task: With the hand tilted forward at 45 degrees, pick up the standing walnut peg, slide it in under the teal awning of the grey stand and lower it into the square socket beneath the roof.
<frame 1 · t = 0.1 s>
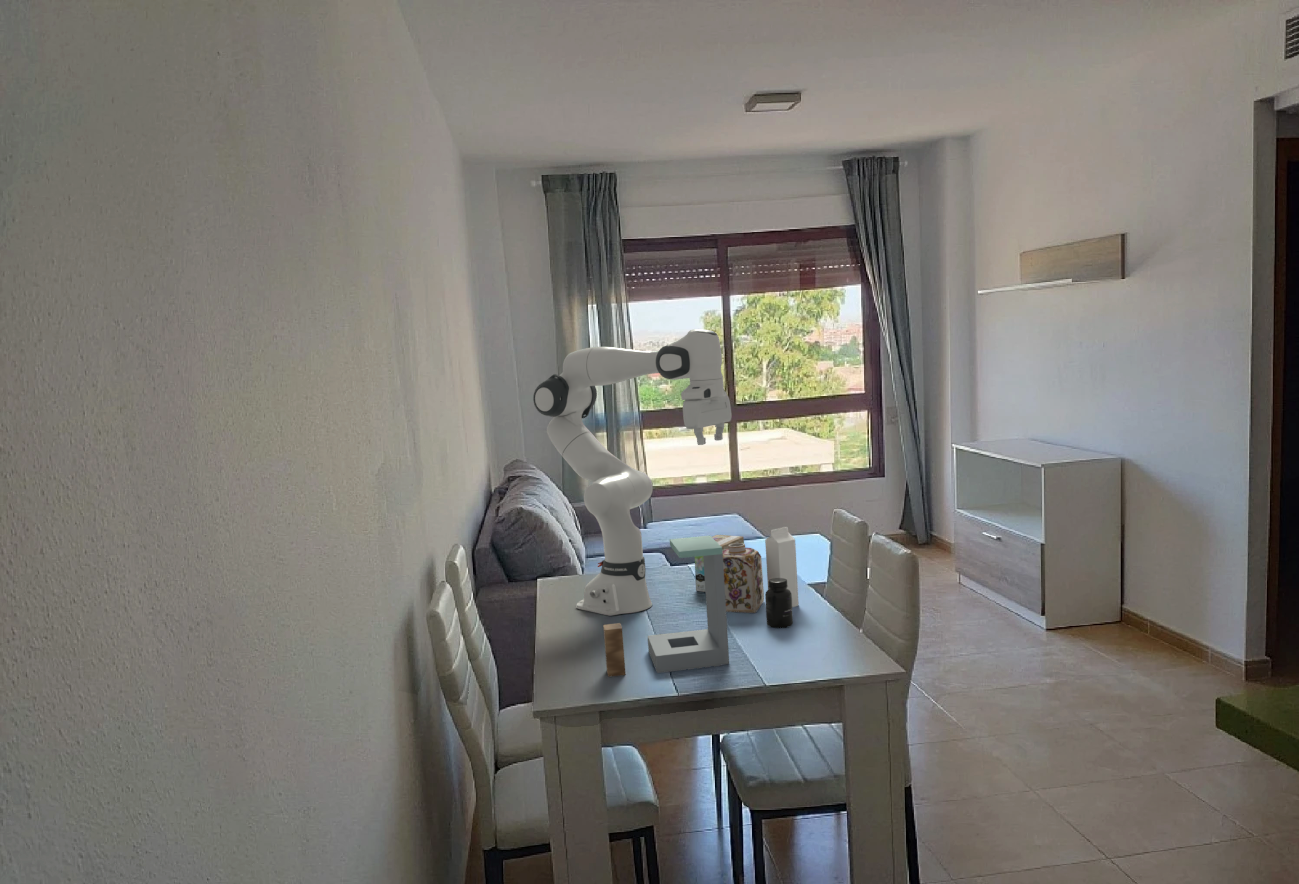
hand: (710, 442, 234), 48 cm above the table, tool pointing down, fingers open, 8 cm apart
decorative jar: (740, 607, 248), on the table
socket stand: (683, 658, 209), on the table
supplement bottle: (780, 625, 229), on the table
walnut peg: (616, 672, 203), on the table
tea box: (721, 587, 270), on the table
milk: (783, 606, 246), on the table
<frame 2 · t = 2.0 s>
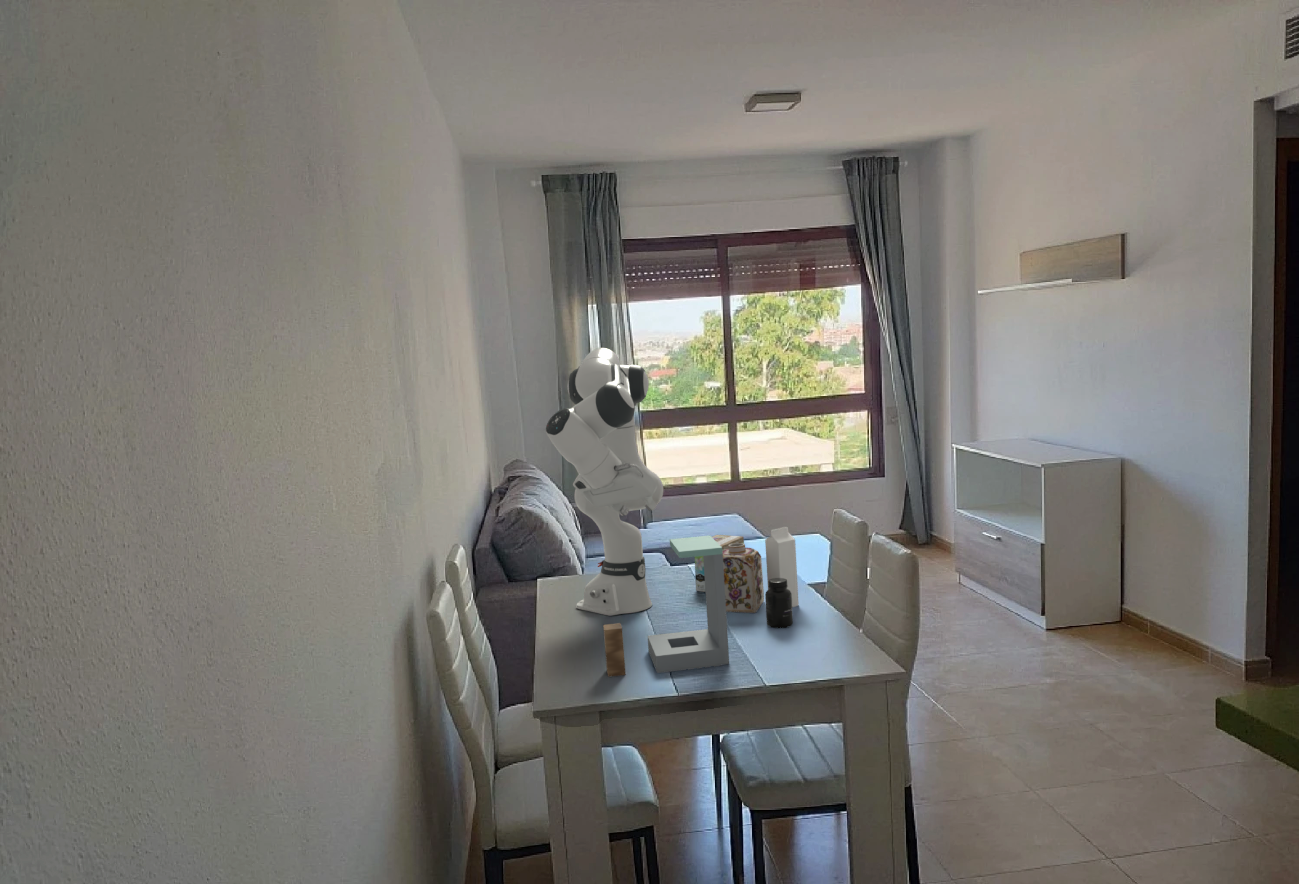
hand: (639, 511, 202), 37 cm above the table, tool tilted 40°, fingers open, 8 cm apart
nothing on the table moved.
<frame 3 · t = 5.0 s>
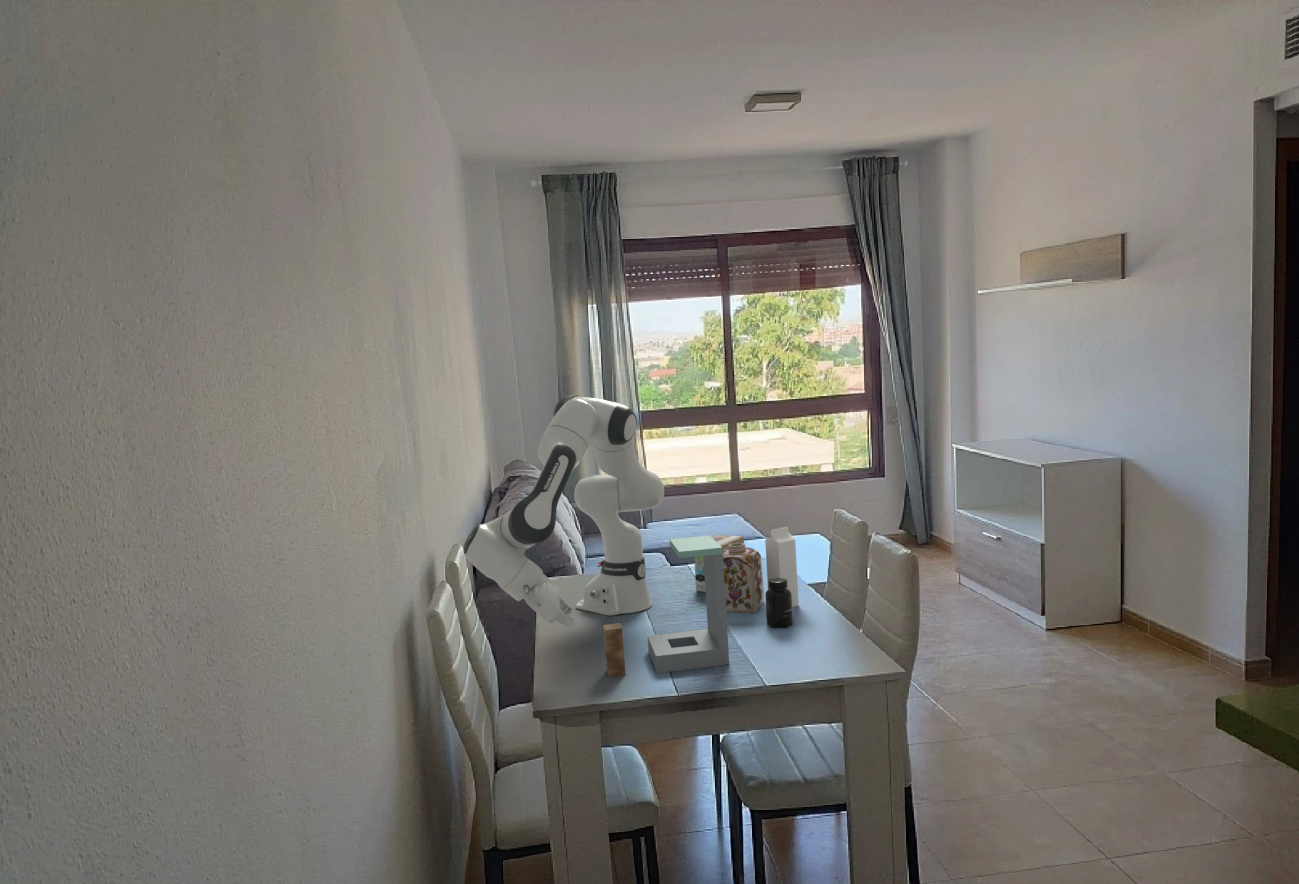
hand: (571, 618, 201), 14 cm above the table, tool tilted 45°, fingers open, 8 cm apart
nothing on the table moved.
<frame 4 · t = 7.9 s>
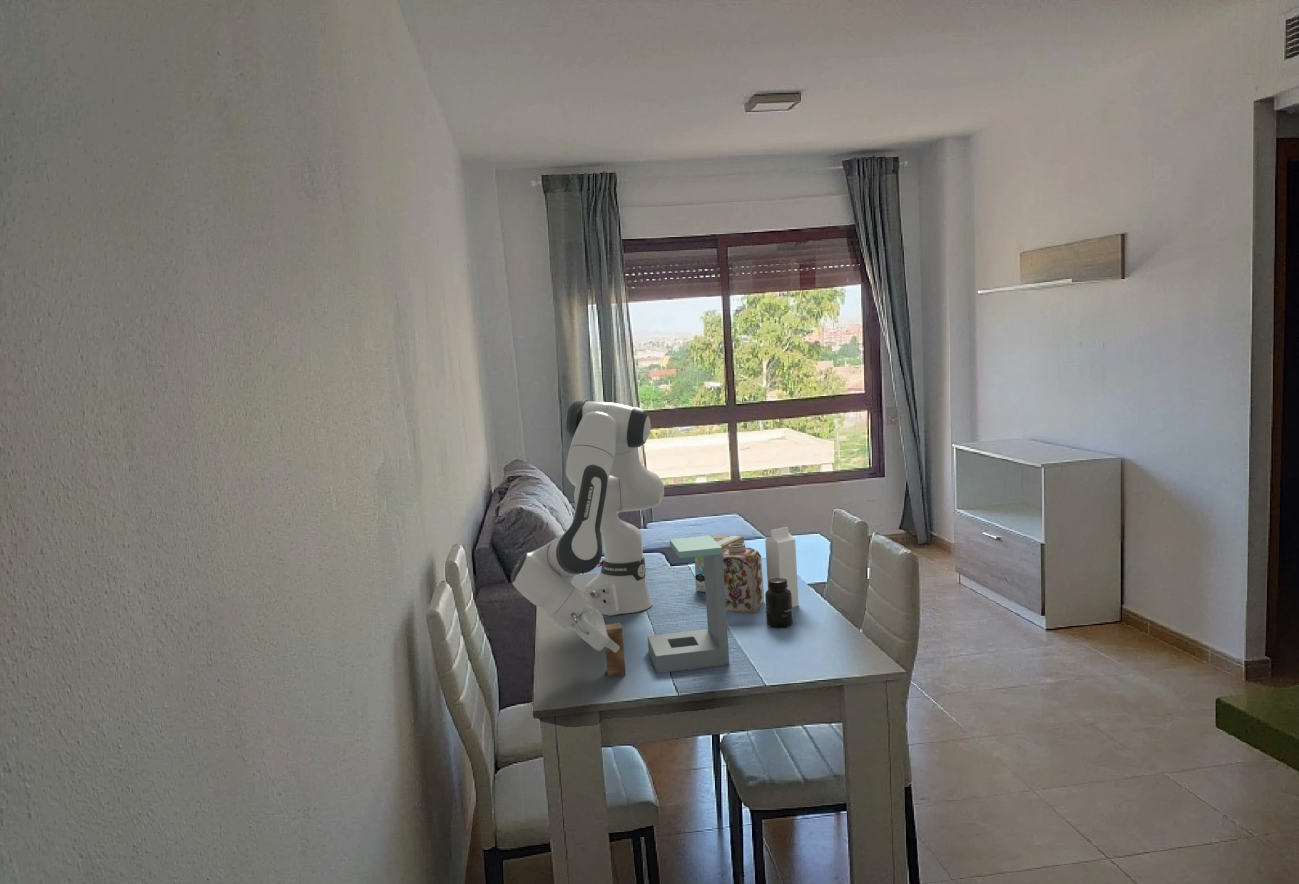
hand: (616, 645, 202), 6 cm above the table, tool tilted 45°, fingers closed on walnut peg, 4 cm apart
walnut peg: (616, 672, 203), on the table, touching gripper
everything else where it was.
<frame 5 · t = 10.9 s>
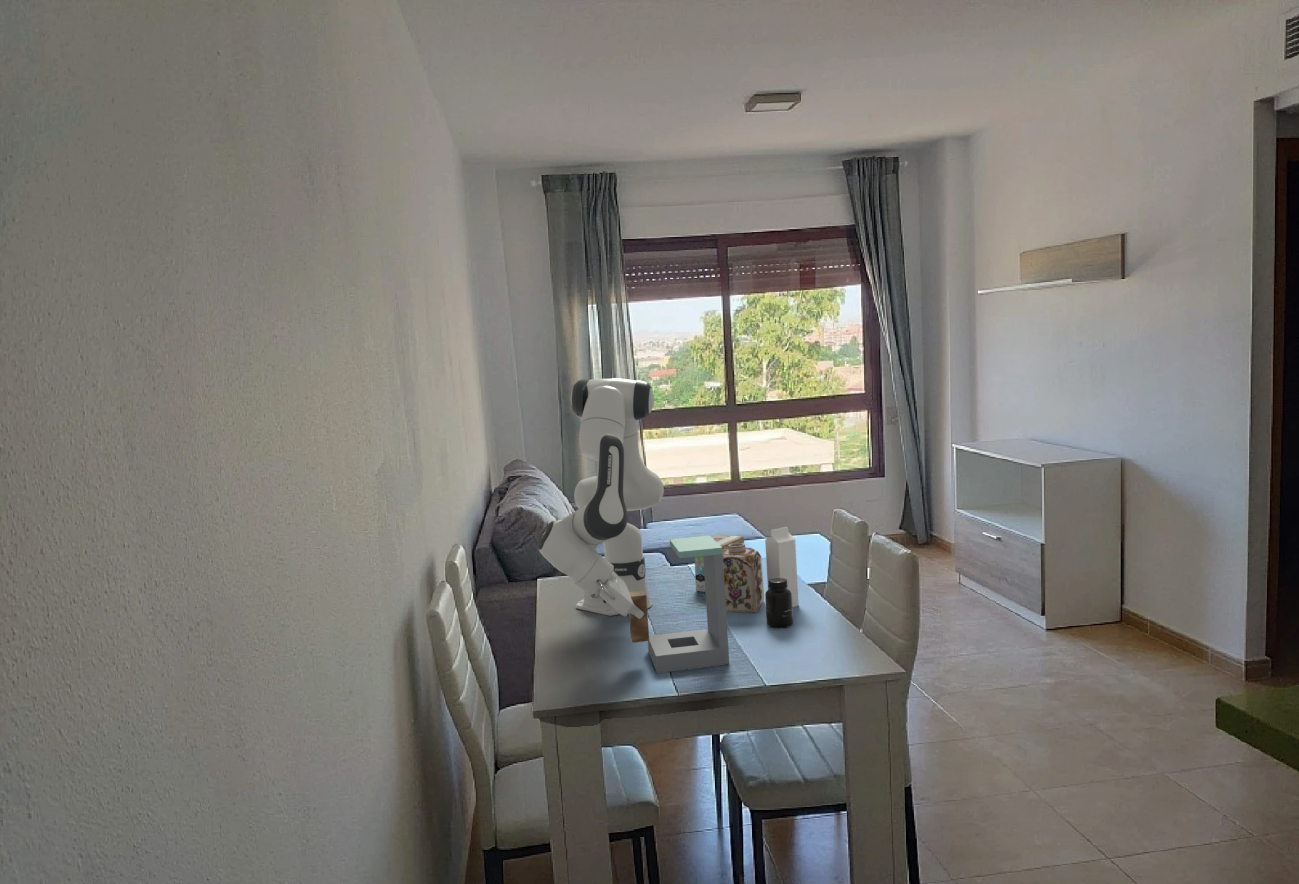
hand: (640, 612, 207), 12 cm above the table, tool tilted 45°, fingers closed on walnut peg, 4 cm apart
walnut peg: (639, 639, 208), point 6 cm above the table, touching gripper
everything else where it was.
when the fingers open (8 cm above the table, at t = 13.9 s): walnut peg drops 2 cm, resting on socket stand.
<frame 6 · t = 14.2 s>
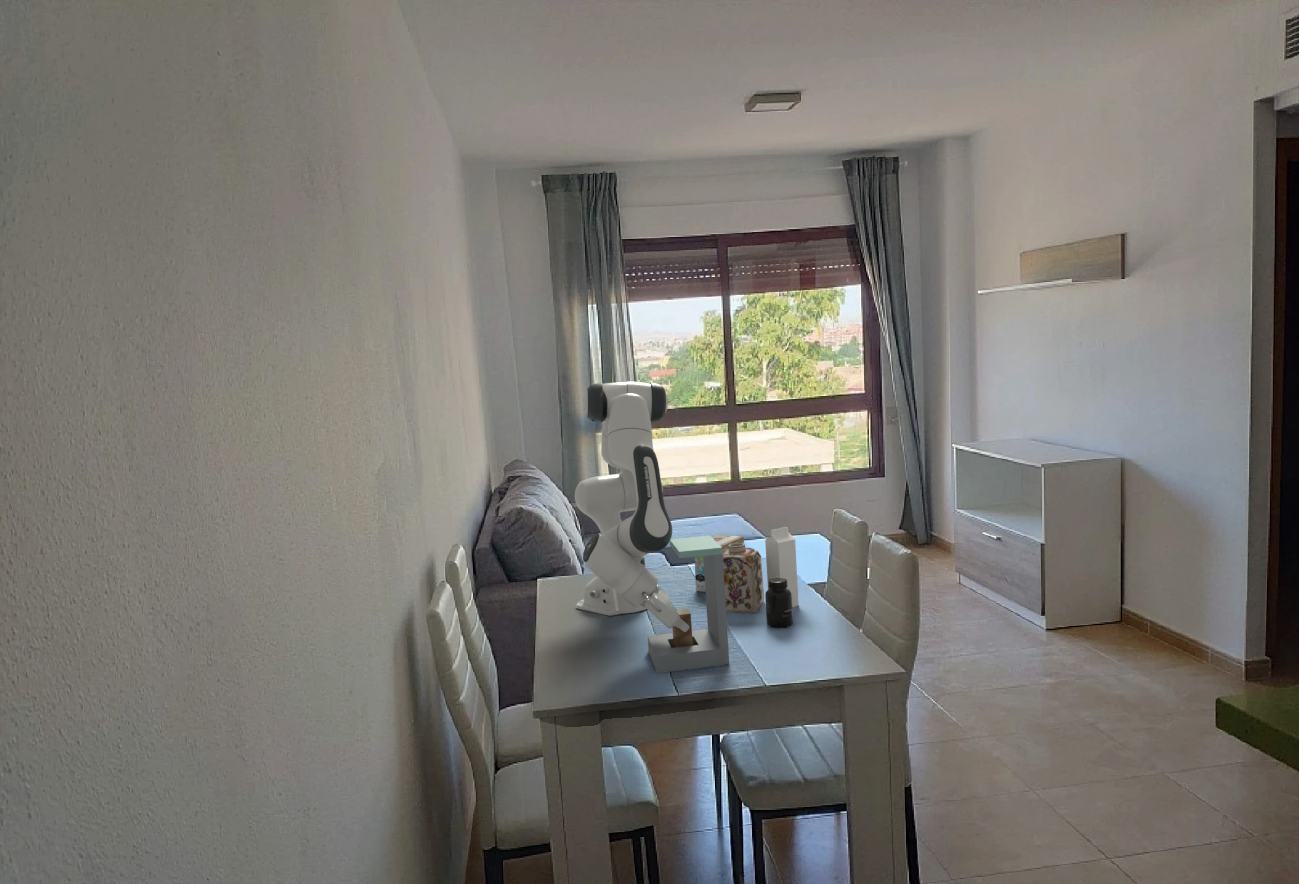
hand: (684, 623, 209), 8 cm above the table, tool tilted 45°, fingers open, 7 cm apart
walnut peg: (683, 656, 209), resting on socket stand
everything else where it was.
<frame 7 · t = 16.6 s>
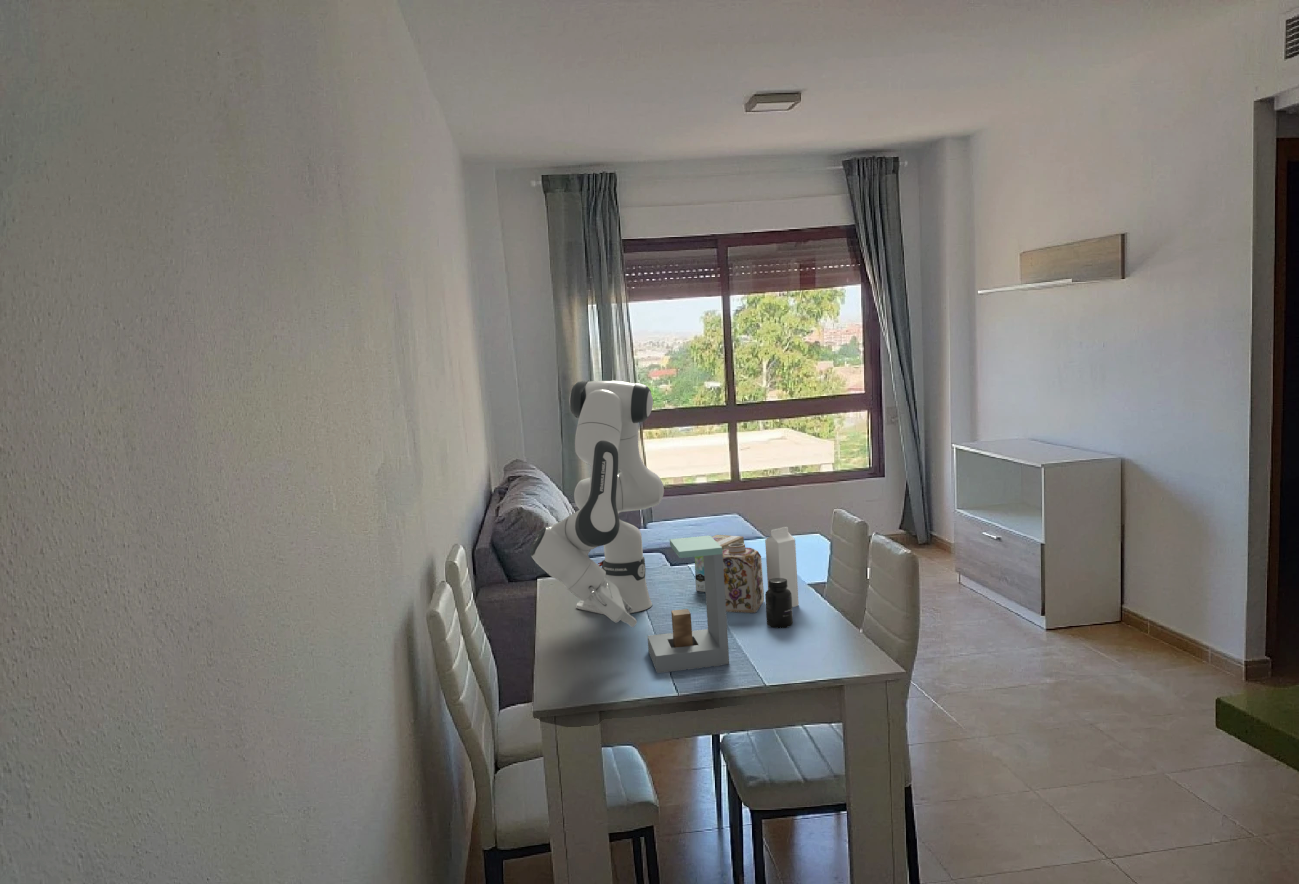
hand: (632, 617, 208), 11 cm above the table, tool tilted 45°, fingers open, 8 cm apart
nothing on the table moved.
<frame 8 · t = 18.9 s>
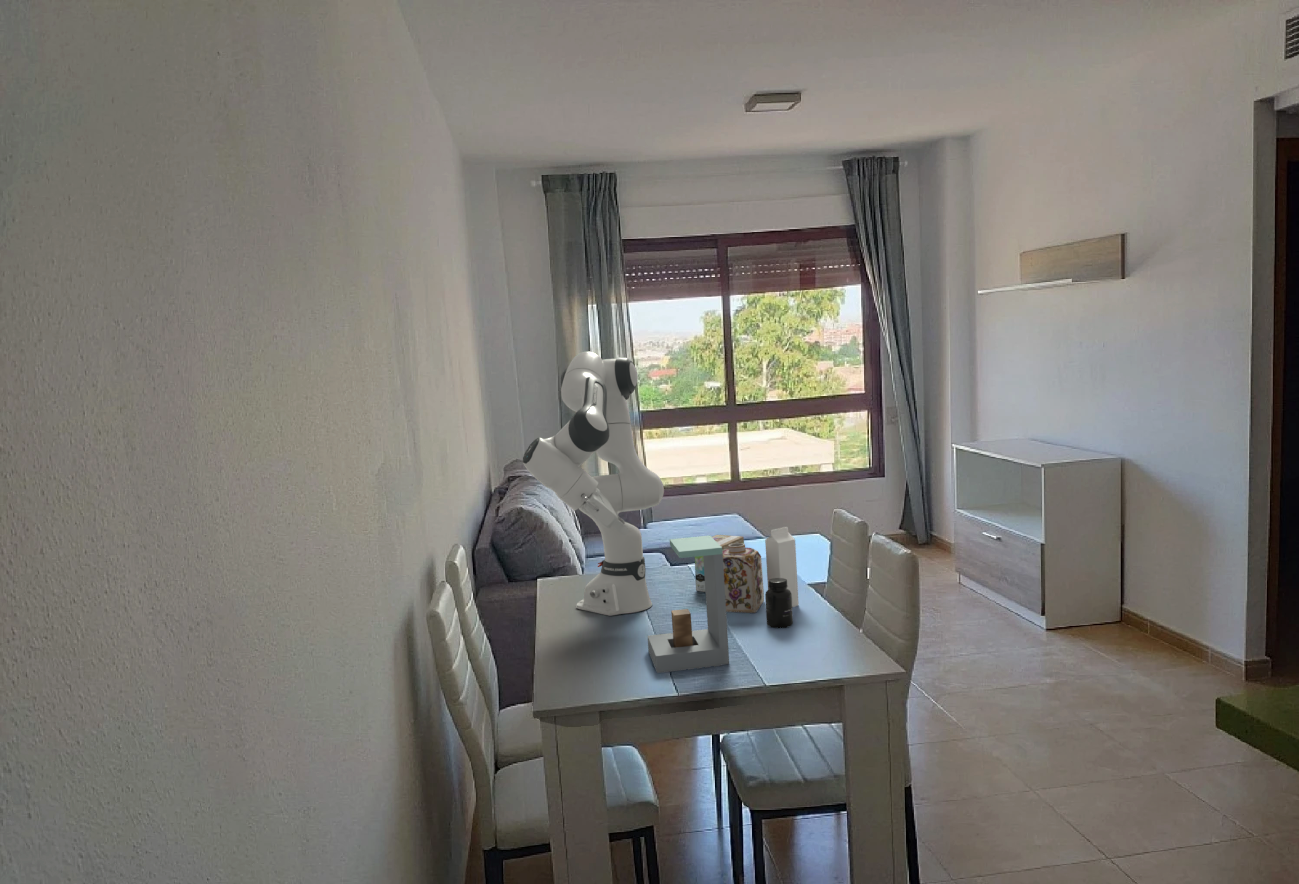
hand: (624, 528, 211), 31 cm above the table, tool tilted 45°, fingers open, 8 cm apart
nothing on the table moved.
at the end: walnut peg 0.1 cm from the socket stand (horizontally); walnut peg resting on socket stand; the gripper is holding nothing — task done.
